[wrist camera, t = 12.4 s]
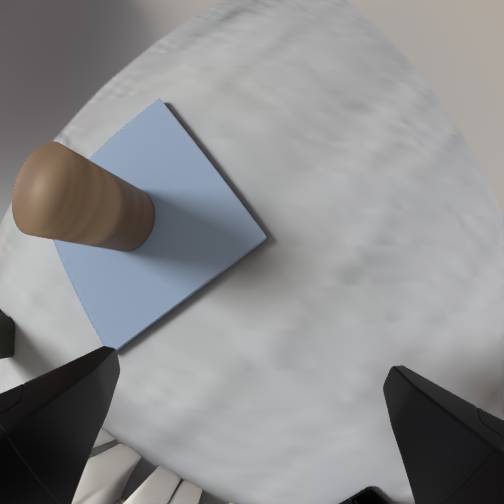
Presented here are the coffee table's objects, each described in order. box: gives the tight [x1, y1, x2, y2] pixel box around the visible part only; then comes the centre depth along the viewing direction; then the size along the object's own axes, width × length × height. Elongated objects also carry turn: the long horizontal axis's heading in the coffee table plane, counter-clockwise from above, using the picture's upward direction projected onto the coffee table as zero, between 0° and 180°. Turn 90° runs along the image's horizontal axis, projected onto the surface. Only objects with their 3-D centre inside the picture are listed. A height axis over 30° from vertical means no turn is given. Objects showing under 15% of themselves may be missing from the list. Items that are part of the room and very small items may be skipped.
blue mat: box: [53, 98, 268, 351], centre depth 23 cm, size 16×16×1 cm
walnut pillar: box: [12, 142, 155, 252], centre depth 17 cm, size 5×5×10 cm
